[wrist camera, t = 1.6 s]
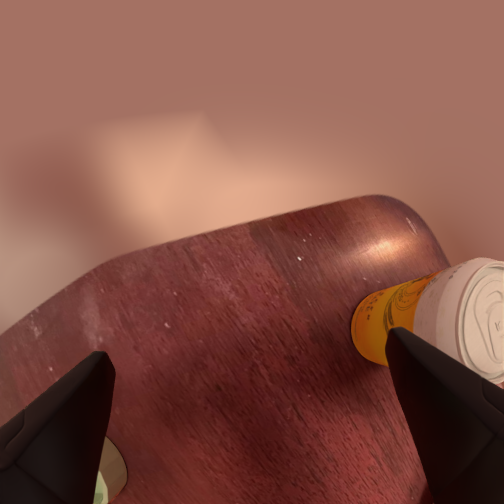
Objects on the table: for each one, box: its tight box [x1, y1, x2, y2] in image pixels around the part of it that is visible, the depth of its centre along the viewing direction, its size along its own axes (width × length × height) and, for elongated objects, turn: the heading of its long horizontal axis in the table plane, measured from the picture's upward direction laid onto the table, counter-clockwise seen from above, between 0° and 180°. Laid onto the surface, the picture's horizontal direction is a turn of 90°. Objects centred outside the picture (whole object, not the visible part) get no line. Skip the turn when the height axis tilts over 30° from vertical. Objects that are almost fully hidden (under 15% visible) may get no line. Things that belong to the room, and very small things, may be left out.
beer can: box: [351, 257, 504, 384], centre depth 17 cm, size 6×6×15 cm
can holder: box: [93, 436, 127, 504], centre depth 19 cm, size 9×9×4 cm
